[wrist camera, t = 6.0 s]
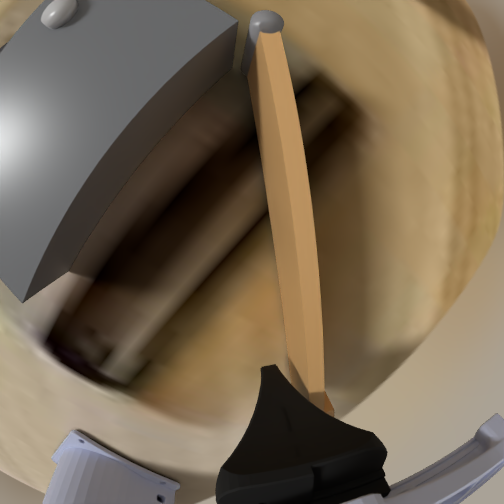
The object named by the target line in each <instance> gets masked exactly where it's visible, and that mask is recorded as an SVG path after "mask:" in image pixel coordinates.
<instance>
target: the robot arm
mask: <svg viewBox="0 0 504 504" xmlns="http://www.w3.org/2000/svg"><path fill="white" fill-rule="evenodd" d="M386 457H387V450H386V448H385V446H384V445H383V443H382V442H381V441H380V440H379V438H377V436H376V435H375V434H374V433H373V432H370V431H366V430H363V429H360V428H356V427H354V426H351V425H349V424H346V423H344V422H342V421H340V420H338V419H336V418H334V417H332V416H330V415H329V414H327V413H325V412H324V411H322V410H321V409H319V408H318V407H316V406H315V405H314V404H312V403H311V402H310V401H309V400H307V399H306V398H305V397H304V396H303V395H302V394H300V393H299V392H298V391H297V390H296V389H295V388H294V387H293V386H292V385H291V384H290V382H289V381H288V380H287V379H286V378H285V377H284V375H283V374H282V373H281V371H280V370H279V368H278V367H277V366H276V364H274V365H269V366H264V367H262V368H261V386H260V391H259V396H258V400H257V404H256V407H255V411H254V413H253V416H252V419H251V421H250V423H249V426H248V428H247V430H246V432H245V434H244V436H243V438H242V439H241V441H240V442H239V444H238V446H237V447H236V449H235V450H234V452H233V453H232V454H231V456H230V457H229V458H228V459H227V461H226V462H225V463H224V464H223V466H222V467H221V469H220V472H219V475H218V479H217V483H216V502H217V504H459V503H460V502H462V501H463V500H464V499H466V498H467V497H468V496H470V495H471V494H472V493H473V492H475V491H476V490H477V489H478V488H480V487H481V486H482V485H483V484H484V483H486V482H487V481H488V480H489V479H490V478H491V477H493V476H494V475H495V474H496V473H497V472H498V471H499V470H500V469H501V468H502V467H503V466H504V419H503V418H502V417H501V416H500V415H499V414H498V413H496V414H495V415H493V416H492V417H491V418H490V419H488V420H487V421H486V422H485V423H483V424H482V425H481V426H480V428H479V429H478V430H477V432H476V434H475V436H474V437H473V438H472V439H471V440H469V441H468V442H466V443H465V444H463V445H462V446H460V447H459V448H458V449H456V450H454V451H453V452H451V453H450V454H448V455H447V456H445V457H444V458H442V459H440V460H439V461H437V462H435V463H434V464H432V465H430V466H428V467H426V468H425V469H423V470H421V471H419V472H417V473H415V474H413V475H412V476H410V477H408V478H406V479H404V480H401V481H399V482H398V483H395V484H393V485H391V486H389V485H388V483H387V482H386V480H385V478H384V477H385V472H384V470H383V469H382V467H383V464H384V462H385V460H386ZM51 459H52V460H53V461H54V462H55V463H56V464H57V467H56V469H55V472H54V474H53V477H52V479H51V482H50V484H49V487H48V489H47V492H46V495H45V497H44V500H43V503H42V504H174V501H175V491H176V490H178V489H180V484H179V483H178V482H175V481H173V480H170V479H168V478H165V477H163V476H160V475H158V474H156V473H154V472H151V471H149V470H147V469H145V468H143V467H140V466H138V465H136V464H134V463H132V462H130V461H128V460H126V459H124V458H122V457H121V456H119V455H117V454H115V453H113V452H111V451H110V450H108V449H106V448H104V447H103V446H101V445H99V444H98V443H96V442H94V441H93V440H91V439H89V438H88V437H86V436H85V435H83V434H82V433H80V432H78V431H76V430H72V431H71V432H70V433H69V434H68V436H67V437H66V438H65V440H64V441H63V442H62V444H61V445H60V446H59V448H58V449H57V450H56V452H55V453H54V454H53V456H52V458H51Z"/></svg>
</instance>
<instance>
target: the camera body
mask: <svg viewBox="0 0 504 504" xmlns="http://www.w3.org/2000/svg"><path fill="white" fill-rule="evenodd" d="M237 27H238V20H236V19H235V18H233V17H232V16H230V15H229V14H227V13H225V12H224V11H222V10H220V9H219V8H217V7H215V6H214V5H212V4H210V3H209V2H207V1H205V0H45V1H44V2H43V3H42V4H41V5H40V6H39V7H38V8H37V9H36V10H35V11H34V12H33V13H32V14H31V15H30V17H29V18H28V19H27V20H26V21H25V22H24V23H23V25H22V26H21V27H20V28H19V29H18V31H17V32H16V33H15V34H14V36H13V37H12V38H11V39H10V41H9V42H8V43H6V44H5V45H4V46H2V47H1V48H0V279H1V280H2V281H3V282H4V284H5V285H6V286H7V287H8V288H9V289H10V290H11V292H12V293H13V294H14V295H15V296H16V297H17V298H18V299H19V300H20V301H21V302H22V303H24V302H25V301H26V300H28V299H29V298H31V297H32V296H33V295H35V294H36V293H38V292H39V291H40V290H42V289H43V288H45V287H46V286H48V285H49V284H50V283H52V282H53V281H55V280H56V279H58V278H59V277H61V276H62V275H64V274H65V273H67V272H68V271H69V269H70V267H71V265H72V264H73V262H74V260H75V258H76V257H77V255H78V253H79V252H80V250H81V248H82V247H83V245H84V243H85V242H86V240H87V239H88V237H89V235H90V234H91V232H92V231H93V229H94V228H95V226H96V224H97V223H98V221H99V220H100V218H101V217H102V215H103V214H104V212H105V211H106V210H107V208H108V207H109V205H110V204H111V202H112V201H113V200H114V198H115V197H116V195H117V194H118V193H119V191H120V190H121V189H122V187H123V186H124V184H125V183H126V182H127V180H128V179H129V178H130V177H131V175H132V174H133V173H134V171H135V170H136V169H137V168H138V166H139V165H140V164H141V163H142V161H143V160H144V159H145V158H146V156H147V155H148V154H149V153H150V152H151V150H152V149H153V148H154V147H155V146H156V144H157V143H158V142H159V141H160V140H161V139H162V138H163V136H164V135H165V134H166V133H167V132H168V131H169V130H170V129H171V127H172V126H173V125H174V124H175V123H176V122H177V121H178V120H179V119H180V118H181V117H182V116H183V115H184V113H185V112H186V111H187V110H188V109H189V108H190V107H191V106H192V105H193V104H194V103H195V102H196V101H197V100H198V99H199V98H200V97H201V96H202V95H203V94H204V93H205V92H206V91H207V90H208V89H209V88H210V87H212V86H213V85H214V84H215V83H216V82H217V81H218V80H219V79H220V78H221V77H222V76H223V75H224V74H226V73H227V72H228V71H229V70H230V69H231V68H232V66H233V58H234V50H235V42H236V35H237Z"/></svg>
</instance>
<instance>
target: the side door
mask: <svg viewBox="0 0 504 504" xmlns="http://www.w3.org/2000/svg"><path fill="white" fill-rule="evenodd" d="M283 26H284V21H283V19H282V17H281V16H280V15H279V14H277V13H275V12H273V11H269V10H262V11H258V12H256V13H255V14H253V16H252V17H251V21H250V25H249V30H248V35H247V39H246V44H245V49H244V54H243V59H242V64H241V71H242V73H243V74H244V75H245V76H247V79H248V85H249V90H250V96H251V102H252V107H253V113H254V119H255V125H256V131H257V137H258V143H259V149H260V155H261V162H262V168H263V174H264V181H265V187H266V194H267V200H268V207H269V214H270V221H271V227H272V234H273V241H274V249H275V256H276V263H277V270H278V278H279V285H280V293H281V301H282V309H283V316H284V325H285V333H286V341H287V349H288V358H289V367H290V376H291V384H292V386H293V387H294V388H295V389H296V390H297V391H298V392H299V393H300V394H302V395H303V396H304V397H305V398H306V399H307V400H309V401H310V402H311V403H312V404H314V405H315V406H316V407H318V408H319V409H321V410H322V411H324V412H325V413H327V414H329V415H330V416H332V417H334V408H333V406H332V404H331V402H330V400H329V398H328V396H327V394H326V392H325V390H324V350H323V326H322V309H321V294H320V280H319V268H318V257H317V247H316V237H315V228H314V219H313V210H312V202H311V195H310V187H309V180H308V173H307V166H306V160H305V153H304V147H303V141H302V135H301V129H300V123H299V118H298V112H297V107H296V102H295V97H294V92H293V87H292V82H291V77H290V73H289V68H288V64H287V59H286V55H285V50H284V46H283V42H282V38H281V34H280V33H281V31H282V29H283Z"/></svg>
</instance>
